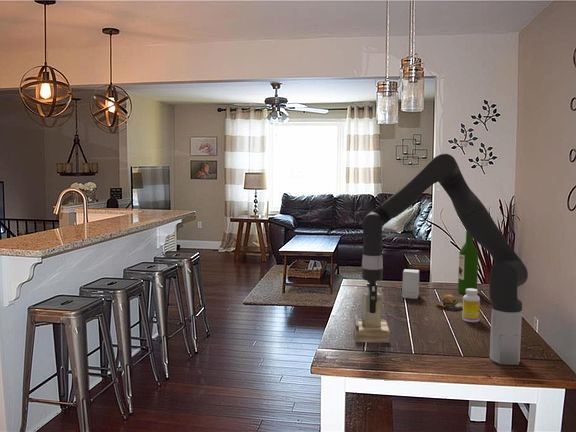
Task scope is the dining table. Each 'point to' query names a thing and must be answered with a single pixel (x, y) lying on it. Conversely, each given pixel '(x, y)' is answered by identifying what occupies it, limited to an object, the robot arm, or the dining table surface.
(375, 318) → the skincare box
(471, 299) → the supplement bottle
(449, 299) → the burger
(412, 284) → the supplement box
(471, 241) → the wine bottle
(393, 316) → the dining table surface
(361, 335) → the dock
